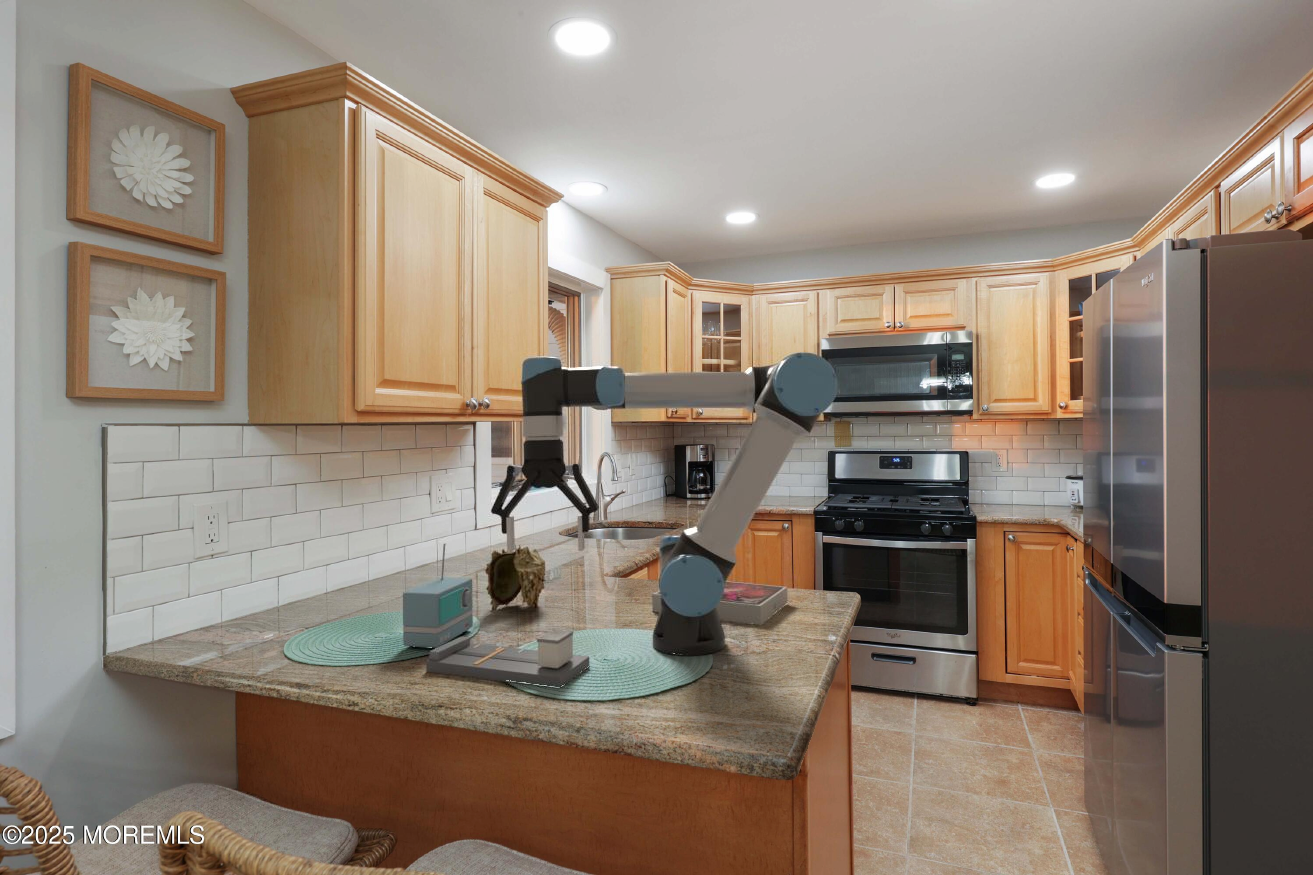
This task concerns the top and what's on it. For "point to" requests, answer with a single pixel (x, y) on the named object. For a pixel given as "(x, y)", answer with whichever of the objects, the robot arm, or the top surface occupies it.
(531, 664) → the fader console
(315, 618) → the top surface
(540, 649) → the fader tab
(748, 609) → the product packaging
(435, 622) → the radio
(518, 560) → the seashell
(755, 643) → the top surface
